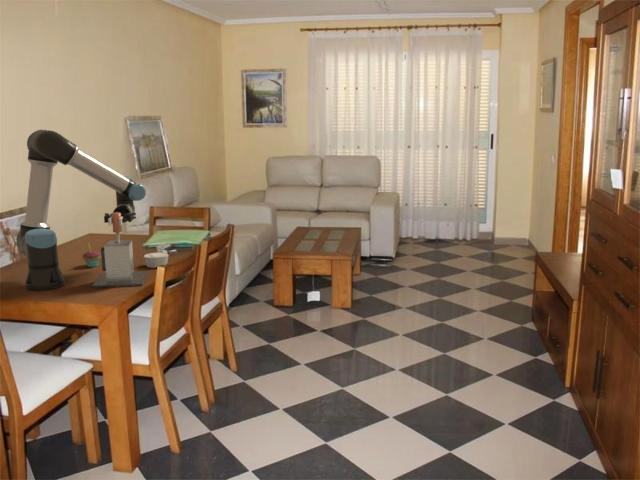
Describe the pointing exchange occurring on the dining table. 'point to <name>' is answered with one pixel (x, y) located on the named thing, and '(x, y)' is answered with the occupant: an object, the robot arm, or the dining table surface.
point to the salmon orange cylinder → (116, 225)
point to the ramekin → (156, 259)
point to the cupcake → (91, 257)
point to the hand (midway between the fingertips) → (114, 222)
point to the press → (118, 266)
